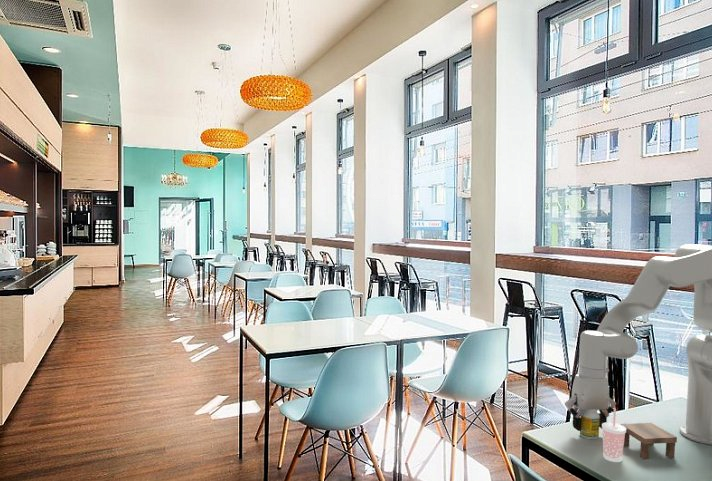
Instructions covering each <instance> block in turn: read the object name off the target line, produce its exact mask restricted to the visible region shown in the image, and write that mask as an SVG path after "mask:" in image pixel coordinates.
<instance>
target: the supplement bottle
mask: <svg viewBox="0 0 712 481" xmlns="http://www.w3.org/2000/svg"><path fill="white" fill-rule="evenodd" d="M580 418H581V419H582V420H581V431H579V434H580V436H581V437H582V438H583V439H587V440H597V439H599V435H600V427H599V419H600V416H599V414H598V410H596V409H593V410H584V411H583V412H582V414H581V416H580Z"/></svg>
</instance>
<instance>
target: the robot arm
mask: <svg viewBox="0 0 712 481" xmlns="http://www.w3.org/2000/svg"><path fill="white" fill-rule="evenodd" d="M674 256H675V257H672V256H666V255H665V256H662V255H661V256H660V255H658V256H653V257H652V258H650V259H649V260H648V261H647V262H646V263H645V265H644V267H643V269H642V270H641V272H640V274H639V275H638V277H637V278H636V281H635V282H634V284H633V286H632V287H631V290H630V291H629V292H628V294H627V295H626V297H625V298H623V299H622V300H621V301H619V302H618V303H617V304H616V305H614V306H613V307H612V308H611V309H610V310H609V311H608V312H607V313H606V314H605V315H604V317H603V319H602V320H601V322H600V324H599V325H598V327H597V329H596V330H584V331H582V332H581V333H580V335H579V337H580V338H579V357H578V358H579V359H578V373H576V374H575V376H574V380H573V384H572V389H571V397H570V398H569V399H568V400H566V401H565V402H564V406H565V408H567V411H568V412H570V414H571V415H572V427H573V428H574V429H575V430H576V431H578V432H580V431H581V420H582V419H581V418H580V416H581V414H582V412H583V411H584V410H593V409H596V410H597V411H599V413H598V412H597V413H598V414H599V416H600V419H599V429H602V424H603V423H605V422H608V421H607V420H608V419H607V418H608V417H610V414H611V413H612V412H613V411H614V409H615V407H616V405H617V402H616V401H614V399H612V398H611V397H610V386H609V382H608V380H609V379H608V377H607V375H606V374H607V373H609V372H610V369H609V367H607V357H609V358H615V359H620V360H624V359H625V360H627V359H630V358H633V357H634V356H636V354H638V351H639V350H638V349H639V345H638V342H637V341H636V340H635V338H634V337H632V336H631V335H629V334H627V333H626V332H625V333H624V330H625V329H626V327H627V325H629V324H630V322H632V321H633V320H635V319H637V318H639V317H643V316H645V315H649V314H651V313H654V312H655V311H657V309H658V308H659V306H660V305H661V302H662V300H663V298H664V297H665V296H666V294H667V292H668V290H669V288H670V287H673V288H684V287H685V288H686V287H689V286H692V285H693V286H694V294H693V295H694V299H693V313H692V314H693V322H694V325H695V326H697V328H699V329H701V330H704V331H706V332H709V333H712V245H706V244H705V245H704V244H694V243H693V244H689V243H688V244H683V245H680V246H679V247H678V248H677V249H676V251H675V254H674ZM685 351H686V352H685V353H686V360H687V367H688V377H687V380H688V382H687V392H686V393H687V396H686V413H685V414H686V415H685V416H686V417H685V424H683V425H681V426H680V427H679V433H680V434H681V436H683V437H685V438H688V439H689V440H692V441H695V442H698V443H701V444H704V445H705V444H706V445H711V446H712V335H711V334H706V333H705V334H703V333H702V334H696V335H694V336H692V337H691V338H690V339H689V340H688V342H687V344H686V349H685ZM573 406H574V407H573Z"/></svg>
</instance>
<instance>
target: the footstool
mask: <svg viewBox="0 0 712 481" xmlns="http://www.w3.org/2000/svg"><path fill="white" fill-rule="evenodd" d="M620 425H623V426H624V427H626V433H625V438H624V446H623V448H624V447H625V448H626V447H630V439H631V437H632V438H634V439H636V440H637V441H639V442H640V451H639V452H640V453H639V457H640V458H641V459H642V460H649V459H650V446H654V445H655V444H665V457H667V458H669V459H675V455H676V454H675V451H676V443H677V441H678V437H677V436H675V435H674V434H672V433H670V432H668V431H667V430H665V429H664V428H661V427H659V426H658V425H656V424H654V423H652V422H638V423H621V424H620Z"/></svg>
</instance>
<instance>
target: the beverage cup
mask: <svg viewBox="0 0 712 481" xmlns="http://www.w3.org/2000/svg"><path fill="white" fill-rule="evenodd" d="M616 412H617V409H616V408H613V420H612V421H613V422H608V421H607V422H605V423H603V424H602V428H601V429H602V449H603V450H602V455H603V458H604V459H605V460H606V461H609V462H612V463H613V462H614V463H620V462H622V460H623V454H624V438H625V433H626V427H624V426H623V425H621V424H620V423H617V422H616V417H617V416H616Z"/></svg>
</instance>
